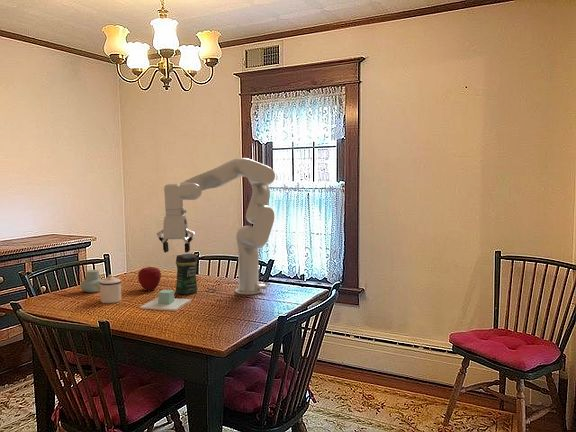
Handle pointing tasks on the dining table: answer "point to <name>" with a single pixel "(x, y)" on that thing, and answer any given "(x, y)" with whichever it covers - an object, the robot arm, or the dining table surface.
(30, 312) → the dining table surface
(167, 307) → the tile
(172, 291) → the block
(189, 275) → the coffee jar
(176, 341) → the dining table surface
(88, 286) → the air freshener
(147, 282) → the apple
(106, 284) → the teacup with lid
